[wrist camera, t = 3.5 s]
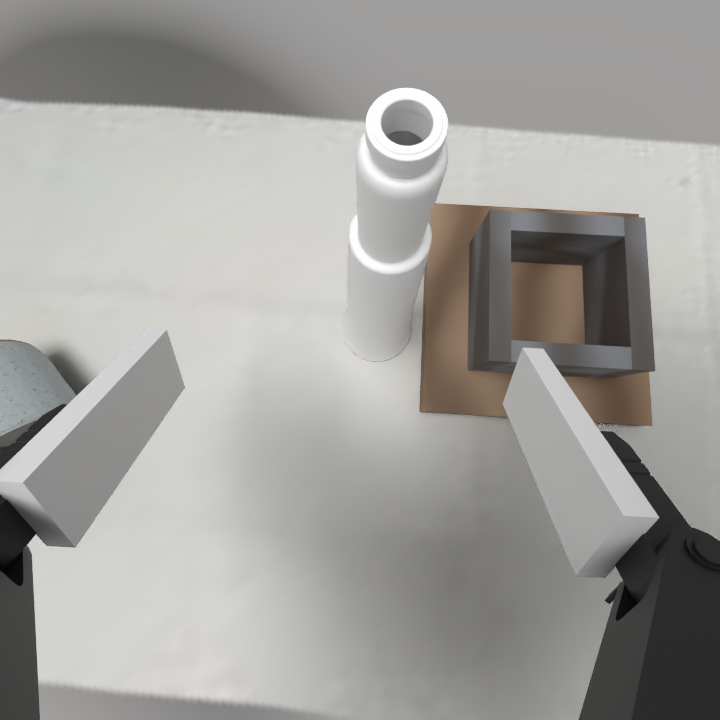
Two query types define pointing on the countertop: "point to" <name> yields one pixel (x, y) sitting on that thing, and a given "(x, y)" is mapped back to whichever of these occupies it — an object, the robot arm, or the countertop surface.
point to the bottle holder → (537, 308)
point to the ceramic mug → (27, 389)
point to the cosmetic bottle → (392, 219)
